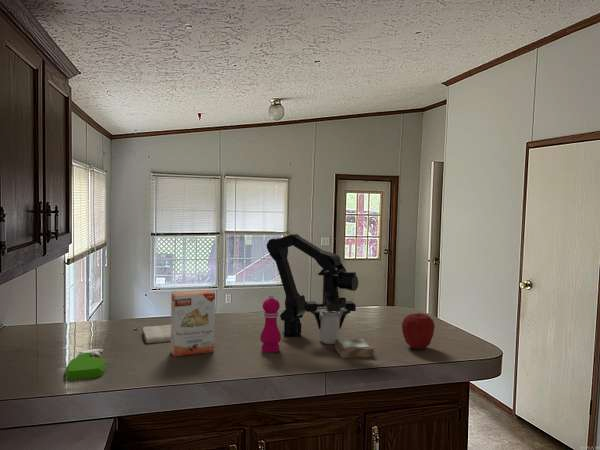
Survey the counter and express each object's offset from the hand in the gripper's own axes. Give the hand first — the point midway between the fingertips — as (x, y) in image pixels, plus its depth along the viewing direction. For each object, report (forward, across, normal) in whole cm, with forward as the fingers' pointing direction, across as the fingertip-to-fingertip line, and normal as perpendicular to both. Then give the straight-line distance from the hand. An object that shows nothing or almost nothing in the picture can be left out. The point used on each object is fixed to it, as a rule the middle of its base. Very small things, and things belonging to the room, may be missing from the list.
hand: (329, 328), depth 177 cm
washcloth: (+6, -64, +13) cm, 66 cm away
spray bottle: (+6, -82, -18) cm, 84 cm away
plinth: (+5, +6, -13) cm, 15 cm away
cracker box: (+5, -50, -8) cm, 51 cm away
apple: (+5, +31, -10) cm, 33 cm away
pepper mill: (+5, -23, -8) cm, 25 cm away
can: (+5, 0, 0) cm, 5 cm away
